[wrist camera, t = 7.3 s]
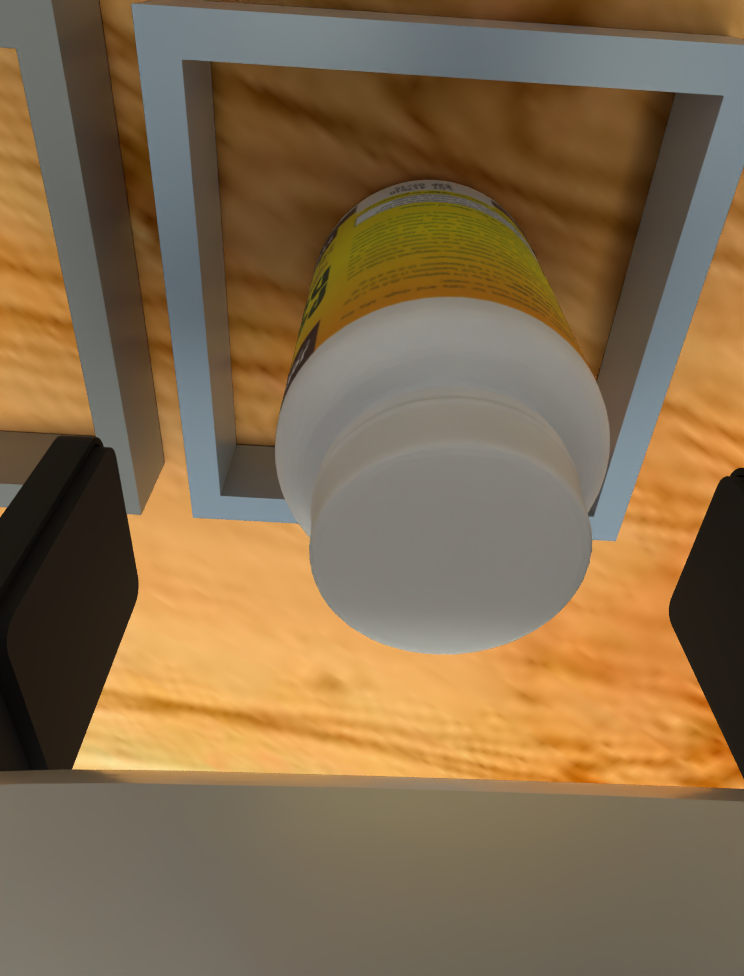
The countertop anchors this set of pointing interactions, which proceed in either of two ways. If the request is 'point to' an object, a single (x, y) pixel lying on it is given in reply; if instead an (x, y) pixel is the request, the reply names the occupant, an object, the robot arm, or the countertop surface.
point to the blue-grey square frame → (444, 53)
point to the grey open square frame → (86, 238)
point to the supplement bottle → (440, 426)
